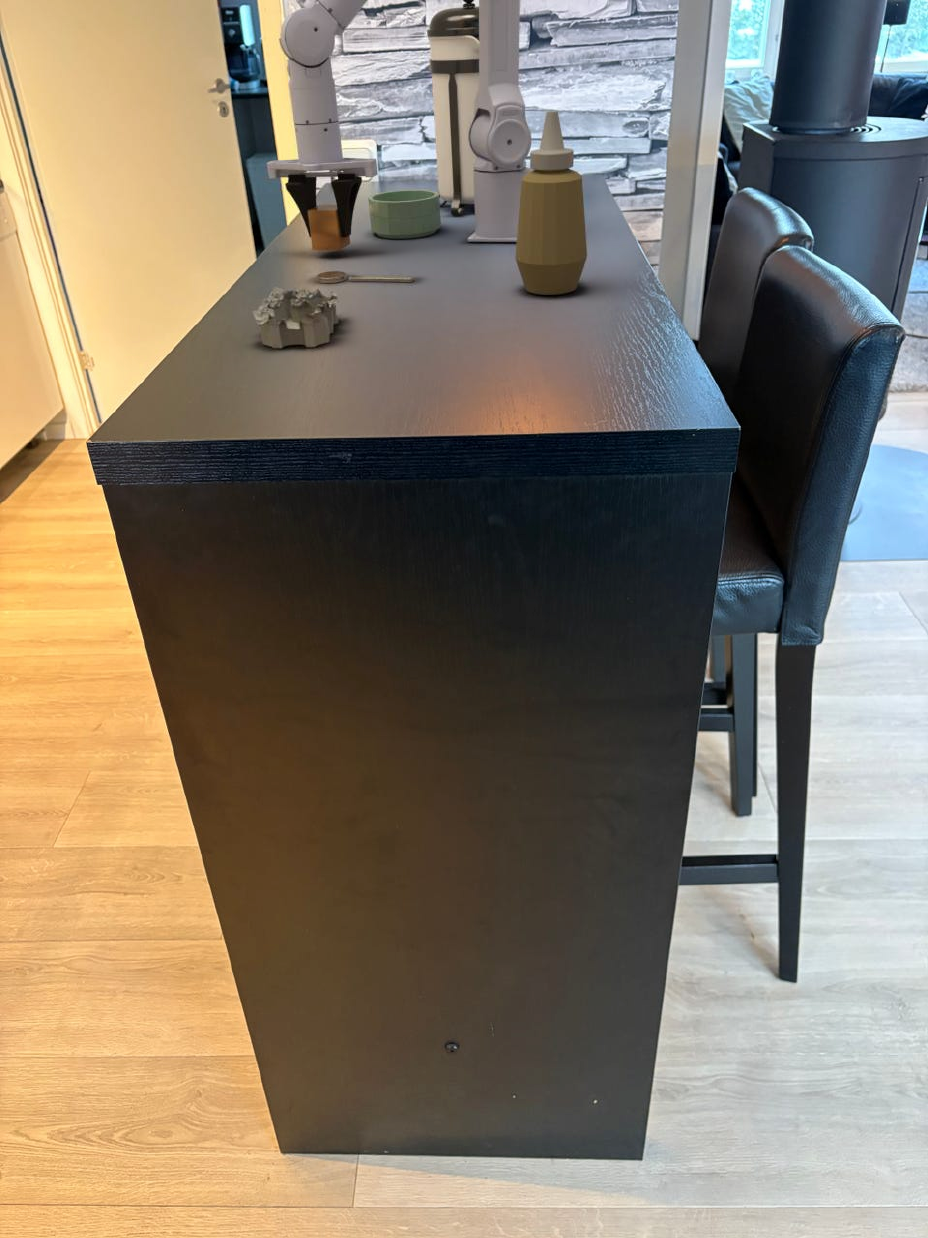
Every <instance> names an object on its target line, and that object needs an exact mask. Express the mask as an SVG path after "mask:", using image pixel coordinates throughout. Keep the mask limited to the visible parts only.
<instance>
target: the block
mask: <svg viewBox="0 0 928 1238" xmlns="http://www.w3.org/2000/svg"><path fill="white" fill-rule="evenodd" d="M308 217H309V225H310V233H311V237H310V239H311V247H312V251H341V250H343V249H345V248H346V247H348V246H349V245H351V238H350V237H351V235H349V236H348V237H341V232H340V227H339V217H338V209H337V204H318V205H317V206H316V207H314V208H312V209H310V210H308Z"/></svg>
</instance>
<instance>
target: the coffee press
mask: <svg viewBox="0 0 928 1238" xmlns="http://www.w3.org/2000/svg"><path fill="white" fill-rule="evenodd" d="M462 1H463V2H464V4H462V6H461V7H451V8H445V9H443V10H440V11H438V12H436V13H435V14H434V15H433V16H432V18H431V20H430V23H429V29H427V30H426V37H427V39H428V40H429V47H430V59H429V73H430V74H431V84H432V85H431V86H432V99H433V100H432V101H433V102H432V103H433V117H434V118H433V119H434V121H433V122H434V137H435V154H436V155H435V156H436V171H437V172H436V173H437V187H438V191H437V193H439V199H440V198H441V199H442V201H443V200H444V201H443V202H442V203H440V208H441V207H443V206H445V205H446V204H447V203H451V206H450V214H451V216H455V217H457V216H458V217H461V216H462V215H463V212H464V210H465V207H466V206H468V205H475V201H474V173H473V170H474V169H473V165H474V163H475V161H476V157H477V156H476V155H475V154H474V153H473V152H472V150H471V148H470V146H469V142H468V130H469V126H470V124H471V122H472V119H473V116H474V102H475V98H476V95H477V92H478V89H479V6H476V4H475V3H473V2H474V1H475V0H462Z"/></svg>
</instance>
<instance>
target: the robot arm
mask: <svg viewBox="0 0 928 1238" xmlns="http://www.w3.org/2000/svg"><path fill="white" fill-rule="evenodd" d="M295 2H296V3H297V5H299V7H300V8H298V9H296V10H295V11H293V12H290V14H288V15H287V16H286V17H285V19H284V20H283V22H282V24H281V27H280V37H279V38H278V41H279V42H278V43H279V45H280V49H281V50H282V52H283V55H284V56H285V57H286V58H287V59H286V64H287V66H286V71H287V75H288V77H289V78H288V79H289V81H288V90H289V97H290V107H291V114H292V121H293V128H294V135H295V136H294V137H295V143H296V150H297V158H296V159H280V160H277V159H276V160H271V161H267V162H266V167H267V174H268V179H269V180H270V179H271V180H274V179H279V178H283V179H284V178H286V179H287V182H285V183H284V185H285V190H286V191H287V192H288V194H289V195H290V197H291V198H292V200H293V202H294V203H295V205H296V207H297V209H298V210H299V212H300V215H301V217H302V219H303V222H304V224H305V228H306V230H307V233H308V236H309V238H311V233H310V225H309V217H308V210H310V209H312V208H314V207H316V206H318V205H317V203H318V202H317V179H318V178H336V179H334V180H332V181H330V185H331V188H332V191H333V195H334V199H335V203H336V204H335V205H337V209H338V217H339V227H340V232H341V237H348V236H352V225H353V215H354V209H355V204H356V201H357V198H358V194H359V191H360V189H361V185H362V182H363V177H365V178H374V177H376V176H378V162H377V158H359V157H344V155H343V146H342V138H341V137H342V136H341V129H340V128H341V127H340V117H339V110H338V109H339V108H338V100H337V91H336V83H335V79H334V75H333V68H332V58H331V56H332V55H333V53H334V49H335V43H336V36H341V35H343V33H344V32H345V30H346V29H347V28H348V27H349V25H350V24H351V23H352V22H353V20H354V19H355V18H356V16H357V15H358V13H359V12H360V11H361V9H362V8H363V7H364V6H365V5H366V3H367V2H368V0H295ZM478 7H479V89H478V92H477V95H476V98H475V102H474V116H473V119H472V122H471V124H470V126H469V130H468V142H469V146H470V148H471V150H472V152H473V153H474V154H475V155H476V156H477V157H476V161H475V163H474V165H473V169H474V170H473V173H474V201H475V204H474V226H475V231H474V232H473V233H472V234H471V235H469V236H468V237H467V242H469V243H470V242H472V243H475V242H477V243H483V242H484V243H517V234H518V221H519V208H520V196H521V183H522V178H523V177H524V176H525V175H526V174H527V173H529V172H531V171H534V169H531V168H530V167H527V161H526V159H527V158H528V155H530V152H531V148H532V132H531V129H530V127H529V125H528V122H527V119H526V118H527V117H526V103H525V101H524V98H523V95H522V93H521V89H520V87H519V81H520V79H519V78H520V77H519V76H520V74H519V73H520V24H521V23H520V18H521V17H520V15H521V0H478Z"/></svg>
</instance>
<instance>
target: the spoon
mask: <svg viewBox="0 0 928 1238" xmlns="http://www.w3.org/2000/svg"><path fill="white" fill-rule="evenodd" d="M316 280H317V282H318V283H321V284H336V283H341V282H344V281H346V280H347V273H346V272H345V271H339V270H334V271H333V270H332V271H325V272H320V273H318V274H316ZM414 280H415V277H414V276H411V275H409V276H405V275H350V276H349V277H348V281H349V282H375V283H376V282H379V283H381V282H382V283H412V282H413V281H414Z"/></svg>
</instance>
